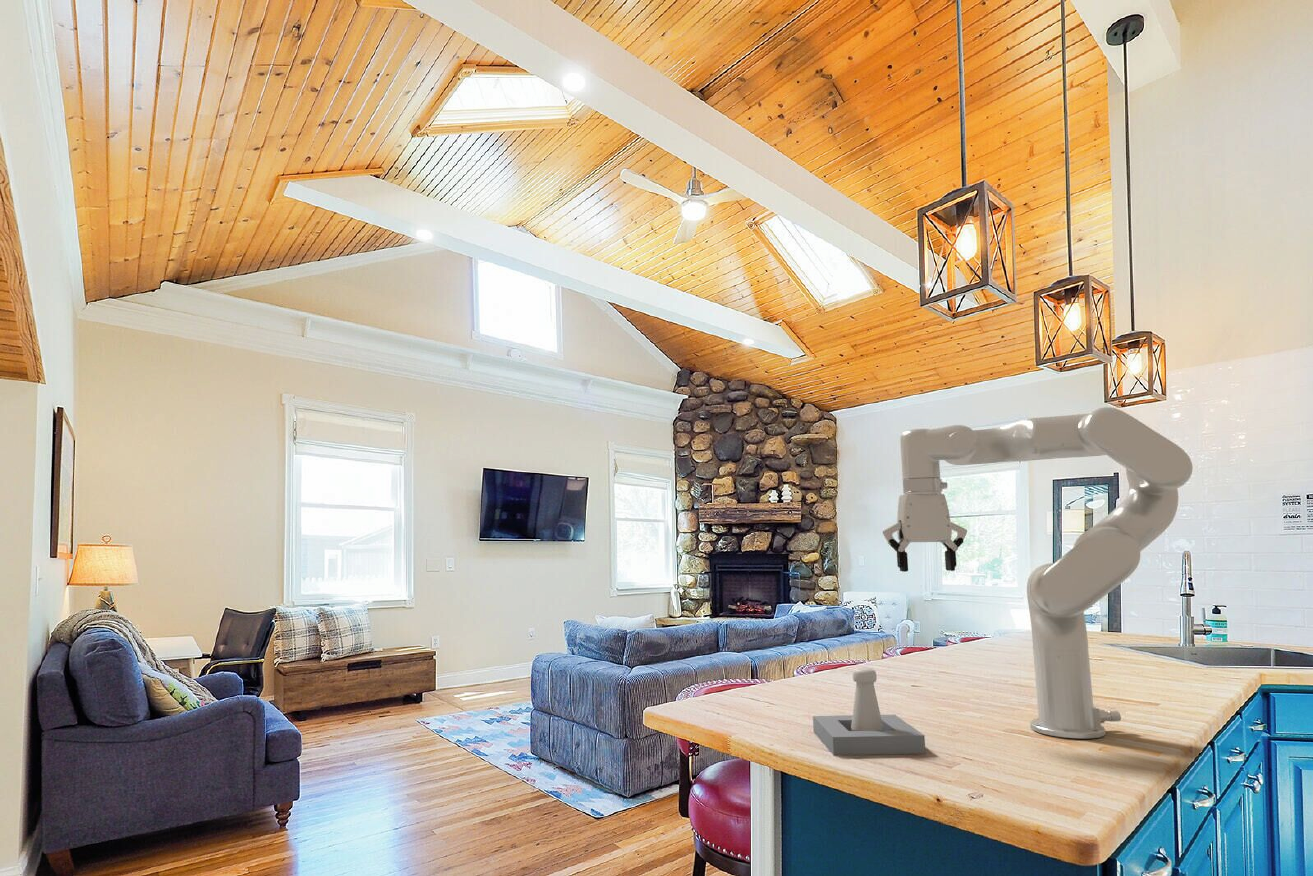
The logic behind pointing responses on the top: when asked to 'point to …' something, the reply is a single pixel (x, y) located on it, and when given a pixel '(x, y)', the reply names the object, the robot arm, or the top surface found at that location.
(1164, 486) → the robot arm
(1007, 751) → the top surface
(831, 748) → the socket board
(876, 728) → the white bulbous peg
